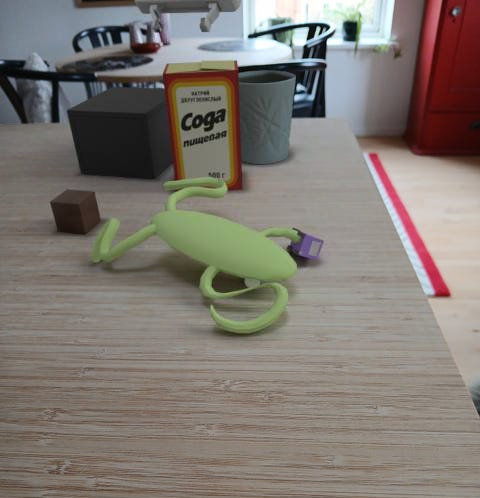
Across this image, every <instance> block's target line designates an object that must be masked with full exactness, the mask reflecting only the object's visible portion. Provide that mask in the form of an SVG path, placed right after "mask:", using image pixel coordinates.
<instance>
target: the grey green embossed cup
mask: <svg viewBox="0 0 480 498" xmlns="http://www.w3.org/2000/svg"><path fill="white" fill-rule="evenodd" d="M296 79H297V77H296V74H295V73H291V72H288V71H282V70H281V71H280V70H265V69H264V70H250V71H243V72H239V101H240V130H241V159H242V162H243V163H246V164H252V165H269V164H270V165H271V164H275V163H276V164H277V163H279V162H282V161H284V160H286V159H287V158H288V156H289V152H290V137H291V129H292V119H293V117H292V116H293V103H294V97H295V87H296Z"/></svg>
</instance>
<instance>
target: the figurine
mask: <svg viewBox="0 0 480 498" xmlns="http://www.w3.org/2000/svg"><path fill="white" fill-rule="evenodd" d="M199 186H211V187H215V188H217V189H213V188H204V187H199ZM183 188H184V189H183ZM176 189H182V190H179V191H177V192H176ZM227 189H228V188H227V186H226V184H225V182H223V181H222V180H220V179H218V178H213V177H202V178H194V179H185V180H178V181H175V180H171V181H166V182H164V184H163V190H164V191H165V192H167V191H175V192H172V193H171V194H170V195H169V196H168V197H167V199H166V201H165V205H164V210H161V211H159V212H158V213H156V214H155V215H153V216H152V218H151V220H150V224H149V225H146V226H144V227H142V228H141V229H140V230H138V231H136V232H135V233H134V234H132V235H130V236H129V237H127V238H124V239H122V240H121V241H120V242H119V243H117V244H115V245H114V246H113V247H112V244H113V242H114V239H115V236H116V234H117V232H118V230H119V227H120V225H121V223H120V221H119V220H118V218H116V217H110V218H109V219H108V220H107V221H106V223H105V224H104V226H103V227H102V228H101V230H100V231H99V233H98V234H97V236H96V238H95V240H94V243H93V245H92V249H91V253H90V261H91V262H92V263H96V264H97V263H100V262H101V261H103V262H104V263H108V264H110V263H111V262H113V261H114V260H117V259H119V257H121V256H122V255H124V254H125V253H126V252H128V251H130V250H131V249H133V248H135V247H137V246H139V245H140V244H142V243H143V242H145V241H146V240H148V239H149V238H151V237H152V236H155V235H157V236H158V237H159V238H160V239H162V240H163V242H165V243H166V244H167V245H168V246H169V247H171V248H172V249H173V250H176V251H177V252H179V253H180V254H182V255H184V256H185V257H186V258H189V259H190V260H192V261H194V262H196V263H199V264H201V265H204V266H206V268H205V270H204V271H203V273H202V274H201V277H200V278H199V290H200V291H201V293H202V295H203V296H204V297H206V298H209V299H212V300H218V299H220V300H222V299H226V298H231V297H235V296H238V295H241V294H244V293H247V292H249V291H252V290H256V289H259V288H267V287H268V288H270V289H272V290H273V291H274V292H275V298H274V302H273V304H272V305H271V307H270V308H268V310H267V311H266V312H264V313H263V314H261V315H259V316H257V317H255V318H253V319H248V320H245V321H239V320H238V321H237V320H233V319H230V318H226V317H224V316H222V315H221V314H219V313H217V311H216V310H215V307H214V306H213V303H212V304H210V317H211V318H212V320H213V322H214V323H215V325H216V326H218V327H220V328H221V329H222V330H225V331H228V332H231V333H235V334H253V333H256V332H259V331H261V330H263V329H265V328H267V327H269V326H270V325H272V324H274V323H276V322H277V320H279V318H280V317H281V315H282V314H283V313H284V311H285V310H286V307H287V305H288V302H289V299H290V297H289V293H288V289H287V288H286V287H285V286H283V285H282V284H280V283H279V281H287V280H289V279H291V278H293V277H294V276H296V275H297V269H298V264H297V263H296V261H295V260H294V258H293V257H292V256H291V255H290V253H289V252H292V254H294V255H295V256H296V255H297V256H299V257H305V258H308V259H311V260H314V261H317V260H318V258H319V255H320V253H321V250H322V247H323V246H324V242H325V240H324V239H321V238H319V237H316V236H313V235H311V234H308V233H306V232H303V231H302V230H300V229H298V228H297V227H296V228H295V227H292V228H289V227H288V228H287V227H275V226H274V227H273V226H272V227H269V228H265V229H263V230H260V231H258V232H257V231H256V230H254V229H252V228H250V227H248V226H245V225H243V224H240V223H237V222H235V221H232V220H230V219H227V218H225V217H220V216H217V215H213V214H209V213H205V212H201V211H193V210H186V209H176V206H177V204H178V203H179V202H181V201H183V200H186V199H189V198H196V197H197V198H208V199H222V198H224V197H225V196H226V195H227V193H228V190H227ZM270 238H285V239H289V240H290V244H287V247H286V249H287V250H285V249H284V248H283V247H281V246H280V245H279V244H277V242H275V241H274V240H272V239H270ZM111 247H112V248H111ZM288 251H289V252H288ZM219 272H222V273H225V274H228V275H232V276H234V277H239V278H241V279H244V285H245V286H246V287H247V288H243V289H239V290H235V291H229V292H224V293H223V292H218V291H216V290H214V288H213V287H212V284H213V283H212V281H213V279H214V278H215V277H216V275H217V274H218V273H219ZM261 282H266V283H262V284H261Z"/></svg>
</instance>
